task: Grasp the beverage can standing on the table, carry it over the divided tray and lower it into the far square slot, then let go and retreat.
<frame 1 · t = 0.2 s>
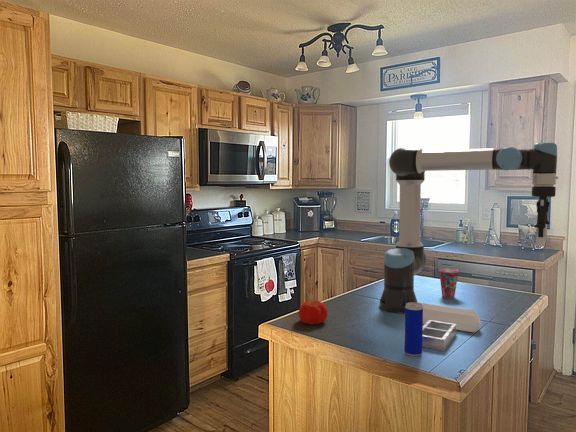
hand: (541, 243, 163), 28 cm above the counter, fingers open, 13 cm apart
cup: (448, 297, 197), on the counter
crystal: (444, 326, 159), on the counter
divided tray: (436, 339, 145), on the counter
beverage can: (413, 354, 133), on the counter
tomato: (312, 323, 163), on the counter
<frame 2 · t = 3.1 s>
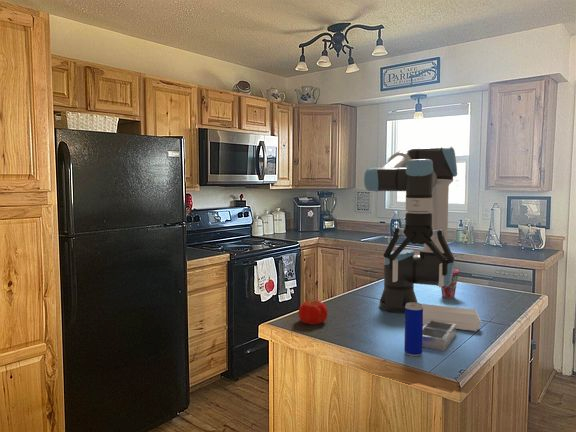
hand: (417, 283, 132), 21 cm above the counter, fingers open, 13 cm apart
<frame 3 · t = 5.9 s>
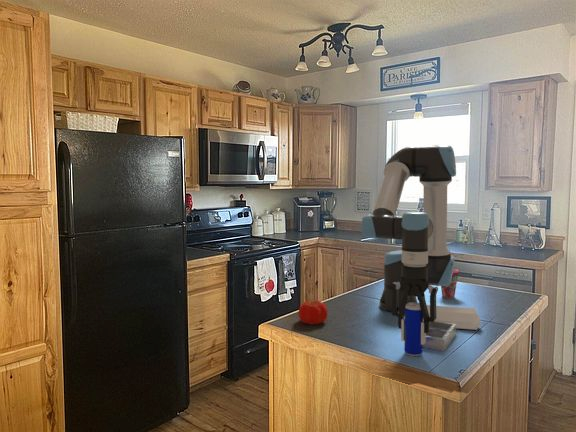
hand: (413, 341, 133), 4 cm above the counter, fingers closed on beverage can, 5 cm apart
beverage can: (413, 354, 133), on the counter, touching gripper
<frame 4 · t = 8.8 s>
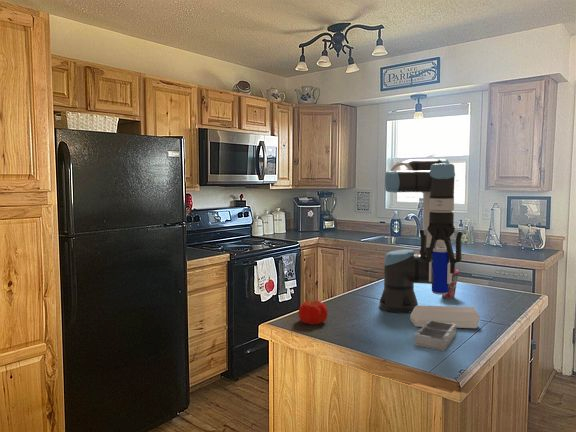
hand: (440, 281, 146), 18 cm above the counter, fingers closed on beverage can, 5 cm apart
beverage can: (439, 293, 147), point 14 cm above the counter, touching gripper
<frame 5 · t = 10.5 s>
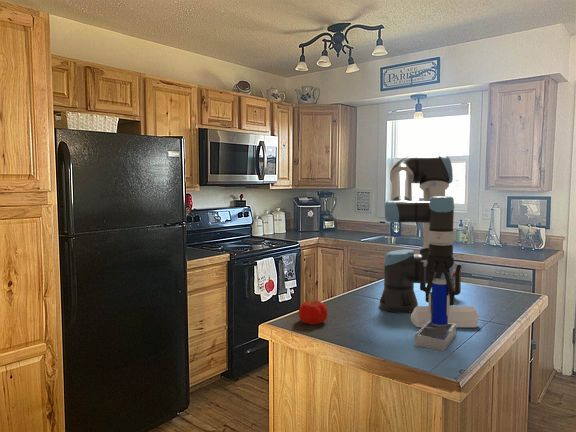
hand: (439, 313, 147), 8 cm above the counter, fingers closed on beverage can, 5 cm apart
beverage can: (439, 324, 147), point 4 cm above the counter, touching gripper
when the fingers open (5 cm above the counter, at t = 11.8 s): beverage can drops 1 cm, resting in divided tray.
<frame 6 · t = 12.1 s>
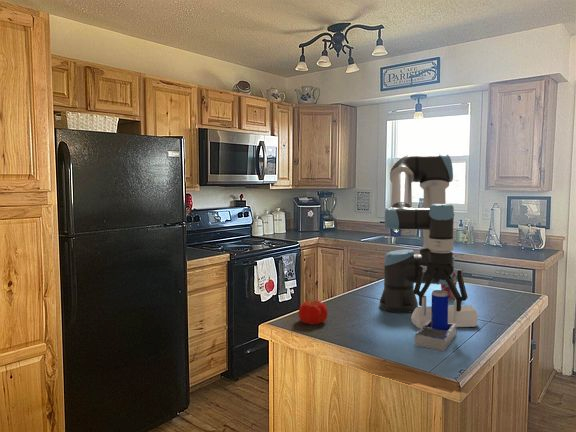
hand: (439, 318, 147), 6 cm above the counter, fingers open, 9 cm apart
beverage can: (439, 336, 148), resting in divided tray
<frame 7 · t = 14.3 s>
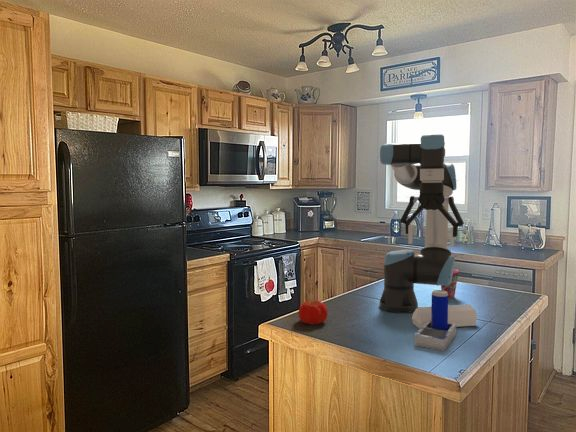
hand: (430, 245, 150), 30 cm above the counter, fingers open, 13 cm apart
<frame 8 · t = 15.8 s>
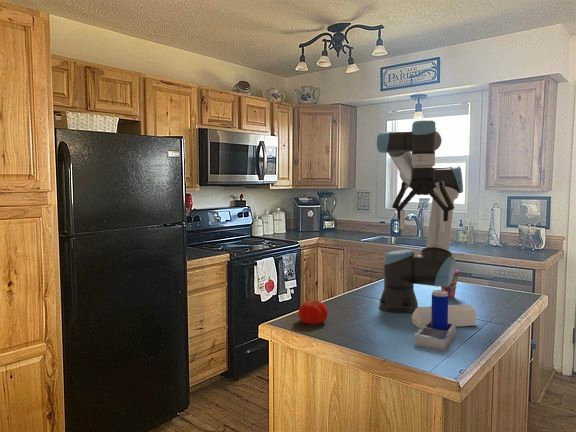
hand: (422, 230, 151), 35 cm above the counter, fingers open, 13 cm apart
at the end: beverage can 0.0 cm from the target spot on the divided tray, point 0.0 cm above the divided tray's base; beverage can tilted 0°; the gripper is holding nothing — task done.
